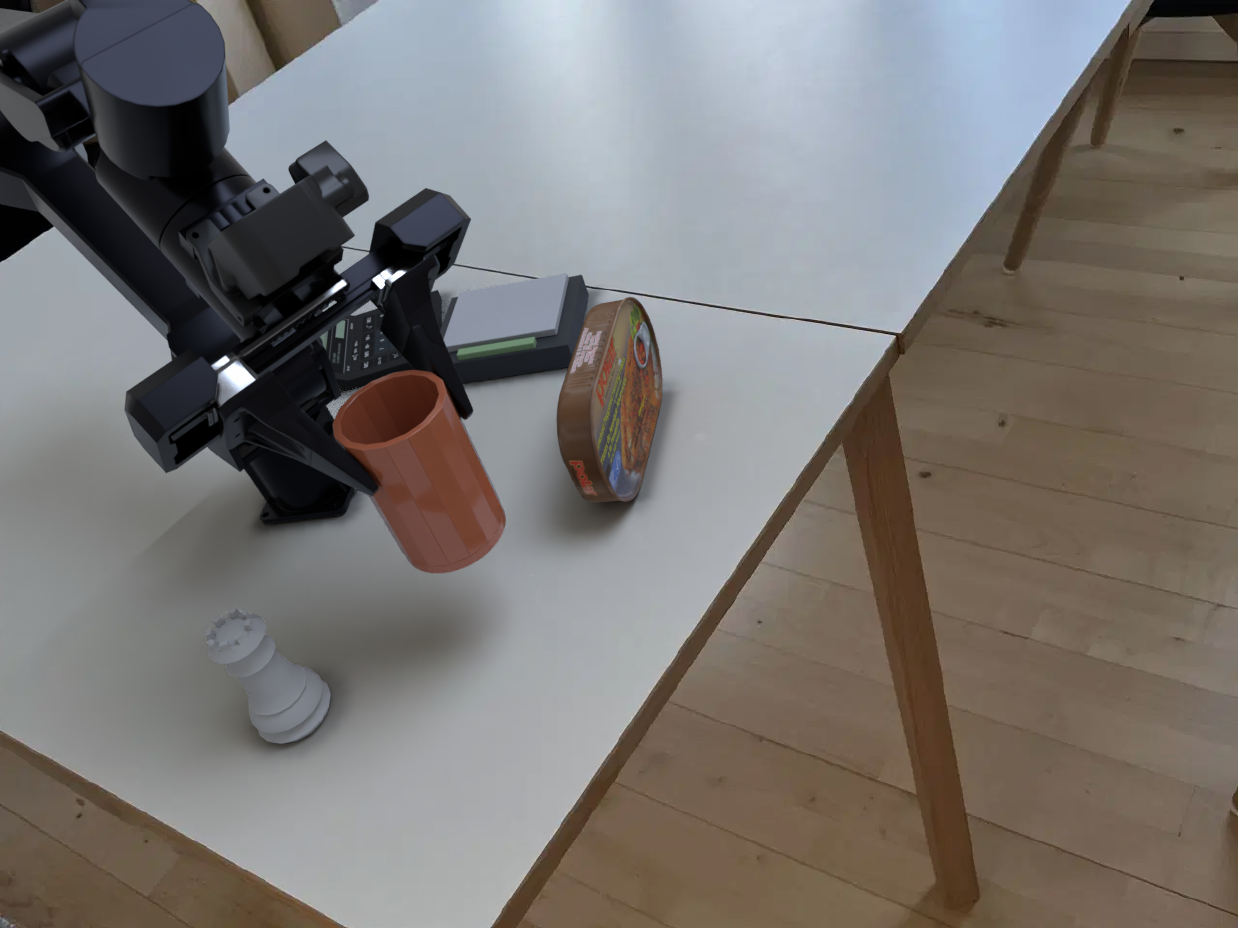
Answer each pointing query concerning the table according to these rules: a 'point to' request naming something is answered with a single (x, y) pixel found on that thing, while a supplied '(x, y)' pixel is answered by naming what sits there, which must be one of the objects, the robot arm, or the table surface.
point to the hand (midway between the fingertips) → (423, 453)
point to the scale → (515, 327)
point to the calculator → (366, 348)
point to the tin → (610, 402)
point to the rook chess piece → (268, 678)
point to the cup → (422, 470)
